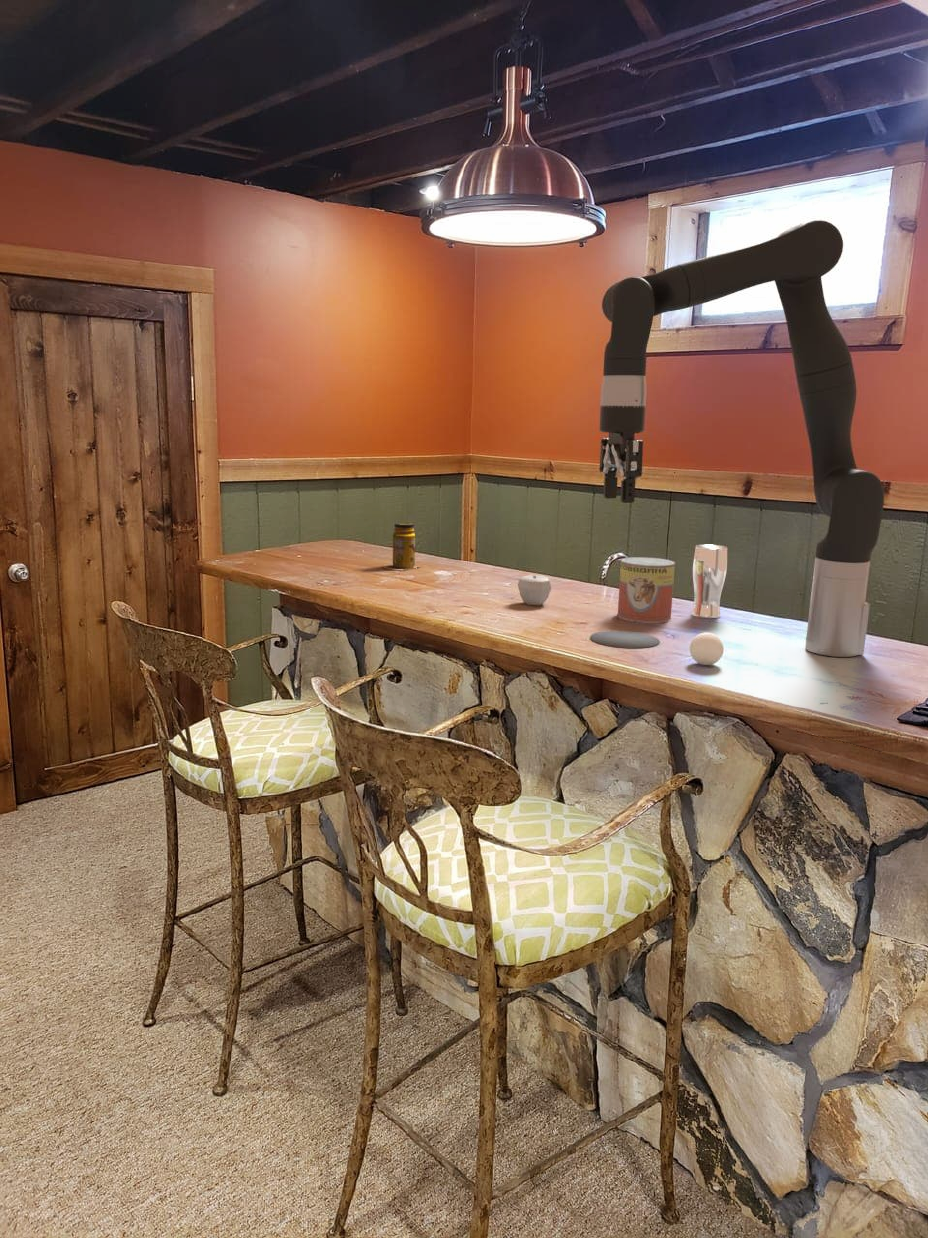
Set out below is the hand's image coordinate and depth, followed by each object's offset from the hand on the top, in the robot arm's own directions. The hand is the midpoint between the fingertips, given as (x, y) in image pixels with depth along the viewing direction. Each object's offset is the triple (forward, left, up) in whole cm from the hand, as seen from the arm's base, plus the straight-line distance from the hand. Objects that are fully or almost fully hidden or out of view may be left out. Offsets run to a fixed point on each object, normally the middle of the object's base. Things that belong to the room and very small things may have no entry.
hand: (618, 500), depth 158 cm
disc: (-5, -9, -27) cm, 29 cm away
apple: (+8, -42, -27) cm, 51 cm away
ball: (-15, +8, -24) cm, 30 cm away
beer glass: (-28, -32, -27) cm, 51 cm away
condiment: (+38, -89, -27) cm, 101 cm away
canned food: (-14, -30, -27) cm, 43 cm away
